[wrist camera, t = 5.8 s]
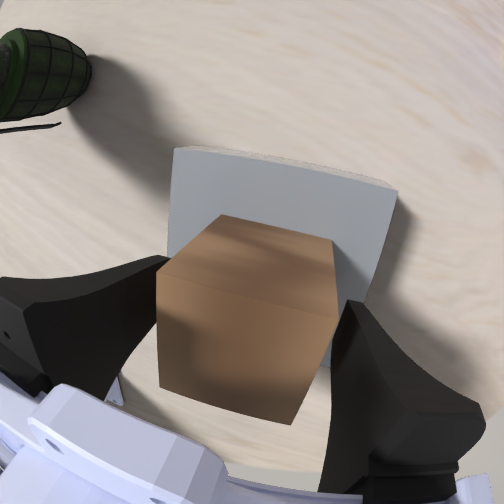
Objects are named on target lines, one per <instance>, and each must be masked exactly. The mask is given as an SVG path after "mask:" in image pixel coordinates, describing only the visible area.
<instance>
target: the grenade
mask: <svg viewBox="0 0 504 504" xmlns="http://www.w3.org/2000/svg"><path fill="white" fill-rule="evenodd" d="M90 78H91V65H90V62H89V61H88V59H87V56H86V54H85V52H84V51H83V50H82V49H81V48H80V47H78V46H77V45H75V44H74V43H72V42H71V41H69V40H68V39H66V38H64V37H61V36H58V35H55V34H51V33H48V32H45V31H42V30H29V29H23V28H16V29H14V30H12V31H9V32H7V33H6V34H5V35H4V36H3V37H2V38H1V39H0V122H8V121H20V120H22V119H26V118H31V117H36V116H43V115H46V114H49V113H51V112H54V111H56V110H59V109H61V108H64V107H67V106H68V105H70V104H71V103H72V102H73V101H74V100H75V99H76V98H77V97H79V96H80V95H81V94H82V93H83V92H84V91H85V90H86V88H87V86H88V84H89V81H90ZM60 124H61V122H59V123H56V124H46V125H33V126H23V127H14V128H6V129H0V134H2V133H10V132H17V131H26V130H36V129H47V128H52V127H55V126H58V125H60Z"/></svg>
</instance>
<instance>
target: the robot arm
mask: <svg viewBox="0 0 504 504" xmlns="http://www.w3.org/2000/svg"><path fill="white" fill-rule="evenodd" d="M170 259H171V258H169V257H165V256H161V255H155V256H150V257H147V258H143V259H140V260H136V261H133V262H130V263H127V264H124V265H120V266H117V267H113V268H110V269H106V270H102V271H99V272H94V273H90V274H85V275H79V276H73V277H63V278H53V279H24V278H12V277H1V278H0V466H1V467H2V468H3V469H4V471H2V469H1V468H0V504H494V502H493V497H492V491H491V486H490V482H489V477H488V474H487V473H484V474H479V475H474V476H468V477H464V478H461V479H459V480H457V481H455V478H454V473H456V472H457V471H458V470H459V466H458V460H459V459H460V458H461V457H462V456H464V455H465V454H466V453H467V451H469V450H470V449H471V448H472V447H473V446H474V445H475V444H476V443H477V442H478V441H479V440H480V438H481V437H482V435H483V433H484V431H485V428H486V422H485V419H484V416H483V414H482V411H481V408H480V405H479V403H477V402H475V401H473V400H471V399H469V398H467V397H465V396H463V395H461V394H459V393H457V392H455V391H453V390H452V389H450V388H449V387H447V386H445V385H444V384H442V383H441V382H439V381H438V380H436V379H435V378H433V377H432V376H431V375H430V374H428V373H427V372H426V371H424V370H423V369H422V368H421V367H419V366H418V365H417V364H416V363H415V362H414V361H413V360H412V359H411V358H409V357H408V356H407V355H406V354H405V353H404V352H403V351H402V350H401V349H400V348H399V347H398V345H397V344H396V343H395V342H394V341H393V340H392V339H391V338H390V336H389V335H388V334H387V333H386V332H385V330H384V329H383V328H382V327H381V325H380V324H379V323H378V322H377V320H376V319H375V318H374V316H373V315H372V314H371V313H370V311H369V310H368V309H367V308H366V306H365V305H364V304H363V303H362V302H358V301H354V300H349V299H347V301H346V304H345V307H344V310H343V312H342V315H341V318H340V321H339V323H338V326H337V329H336V331H335V334H334V336H333V339H332V347H331V358H330V369H331V403H332V407H331V421H330V429H329V437H328V443H327V450H326V456H325V461H324V466H323V470H322V475H321V480H320V484H319V487H318V491H317V492H310V491H302V490H295V489H288V488H282V487H276V486H270V485H265V484H260V483H255V482H251V481H246V480H242V479H238V478H234V477H230V476H228V471H227V469H226V467H225V464H224V462H223V461H222V459H221V458H220V457H219V456H217V455H216V454H215V453H213V452H212V451H211V450H209V449H208V448H207V447H206V446H204V445H202V444H200V443H198V442H196V441H193V440H191V439H189V438H187V437H185V436H183V435H181V434H178V433H175V432H172V431H170V430H167V429H164V428H162V427H159V426H157V425H154V424H152V423H149V422H147V421H145V420H142V419H140V418H137V417H135V416H133V415H131V414H128V413H126V412H124V411H122V410H120V409H118V408H116V407H113V406H111V405H109V404H107V403H105V402H106V401H107V400H108V401H111V402H113V403H115V404H117V405H119V406H123V404H124V402H123V398H122V394H121V390H120V386H119V382H118V378H117V375H118V373H119V372H120V370H121V368H122V367H123V365H124V364H125V362H126V360H127V359H128V357H129V356H130V354H131V353H132V352H133V350H134V349H135V348H136V347H137V345H138V344H139V343H140V342H141V341H142V339H143V338H144V337H145V336H146V334H147V333H148V332H149V331H150V330H151V328H152V327H153V326H154V325H155V323H156V322H157V319H156V272H157V271H158V270H159V269H160V268H161V267H162V266H163V265H165V264H166V263H167V262H168V261H169V260H170Z"/></svg>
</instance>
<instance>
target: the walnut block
mask: <svg viewBox="0 0 504 504" xmlns="http://www.w3.org/2000/svg"><path fill="white" fill-rule="evenodd" d="M156 319H157V351H158V370H159V385H160V388H163V389H166V390H168V391H171V392H174V393H176V394H179V395H182V396H185V397H188V398H191V399H194V400H197V401H200V402H203V403H206V404H209V405H212V406H215V407H219V408H222V409H226V410H229V411H233V412H236V413H240V414H244V415H247V416H251V417H255V418H259V419H263V420H268V421H272V422H277V423H281V424H286V425H291V424H292V422H293V420H294V418H295V416H296V414H297V412H298V410H299V408H300V406H301V404H302V402H303V400H304V398H305V396H306V394H307V392H308V390H309V387H310V385H311V383H312V381H313V379H314V377H315V375H316V372H317V370H318V368H319V366H320V363H321V361H322V359H323V357H324V354H325V352H326V350H327V347H328V345H329V342H330V340H331V338H332V335H333V333H334V330H335V328H336V325H337V323H338V320H339V314H338V300H337V288H336V277H335V267H334V257H333V248H332V240H329V239H325V238H321V237H317V236H313V235H309V234H305V233H301V232H297V231H292V230H288V229H284V228H280V227H275V226H271V225H267V224H263V223H258V222H254V221H249V220H245V219H241V218H236V217H232V216H227V215H223V214H221V215H220V216H219V217H218V218H216V219H215V220H214V221H213V222H212V223H211V224H209V225H208V226H207V227H206V228H205V229H204V230H203V231H201V232H200V233H199V234H198V235H197V236H196V237H195V238H194V239H192V240H191V241H190V242H189V243H188V244H187V245H186V246H185V247H183V248H182V249H181V250H180V251H179V252H178V253H177V254H176V255H174V256H173V257H172V258H171V259H170V260H169V261H168V262H167V263H166V264H165V265H163V266H162V267H161V268H160V269H159V270H158V271H157V272H156Z"/></svg>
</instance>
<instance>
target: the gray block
mask: <svg viewBox="0 0 504 504" xmlns="http://www.w3.org/2000/svg"><path fill="white" fill-rule="evenodd" d="M397 195H398V191H397V190H396V189H395V188H393V187H392V186H390V185H389V184H388V183H386V182H385V181H382V180H379V179H375V178H371V177H367V176H363V175H360V174H356V173H352V172H347V171H343V170H339V169H335V168H330V167H326V166H321V165H317V164H312V163H307V162H302V161H297V160H292V159H287V158H282V157H276V156H270V155H265V154H259V153H253V152H246V151H240V150H233V149H226V148H218V147H210V146H202V145H195V146H186V147H178V148H174V154H173V165H172V176H171V189H170V203H169V220H168V242H167V257H169V258H172V257H173V256H174V255H176V254H177V253H178V252H179V251H180V250H181V249H182V248H183V247H185V246H186V245H187V244H188V243H189V242H190V241H191V240H192V239H194V238H195V237H196V236H197V235H198V234H199V233H200V232H201V231H203V230H204V229H205V228H206V227H207V226H208V225H209V224H211V223H212V222H213V221H214V220H215V219H216V218H218V217H219V216H220V215H221V214H223V215H227V216H232V217H236V218H241V219H245V220H249V221H254V222H258V223H263V224H267V225H271V226H275V227H280V228H284V229H288V230H292V231H297V232H301V233H305V234H309V235H313V236H317V237H321V238H325V239H329V240H332V248H333V257H334V267H335V277H336V288H337V300H338V314H339V320H338V323H339V321H340V318H341V315H342V312H343V310H344V307H345V304H346V301H347V299H349V300H354V301H358V302H362V303H363V304H364V301H365V298H366V296H367V293H368V290H369V287H370V284H371V282H372V279H373V276H374V273H375V270H376V267H377V264H378V261H379V258H380V255H381V251H382V248H383V245H384V242H385V238H386V235H387V232H388V228H389V225H390V221H391V218H392V214H393V210H394V206H395V203H396V199H397ZM338 323H337V325H336V328H335V330H334V333H333V335H332V338H331V340H330V342H329V345H328V347H327V350H326V352H325V354H324V357H323V359H322V361H321V363H320V366H324V367H329V368H330V358H331V347H332V339H333V336H334V334H335V331H336V329H337V326H338Z"/></svg>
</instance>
